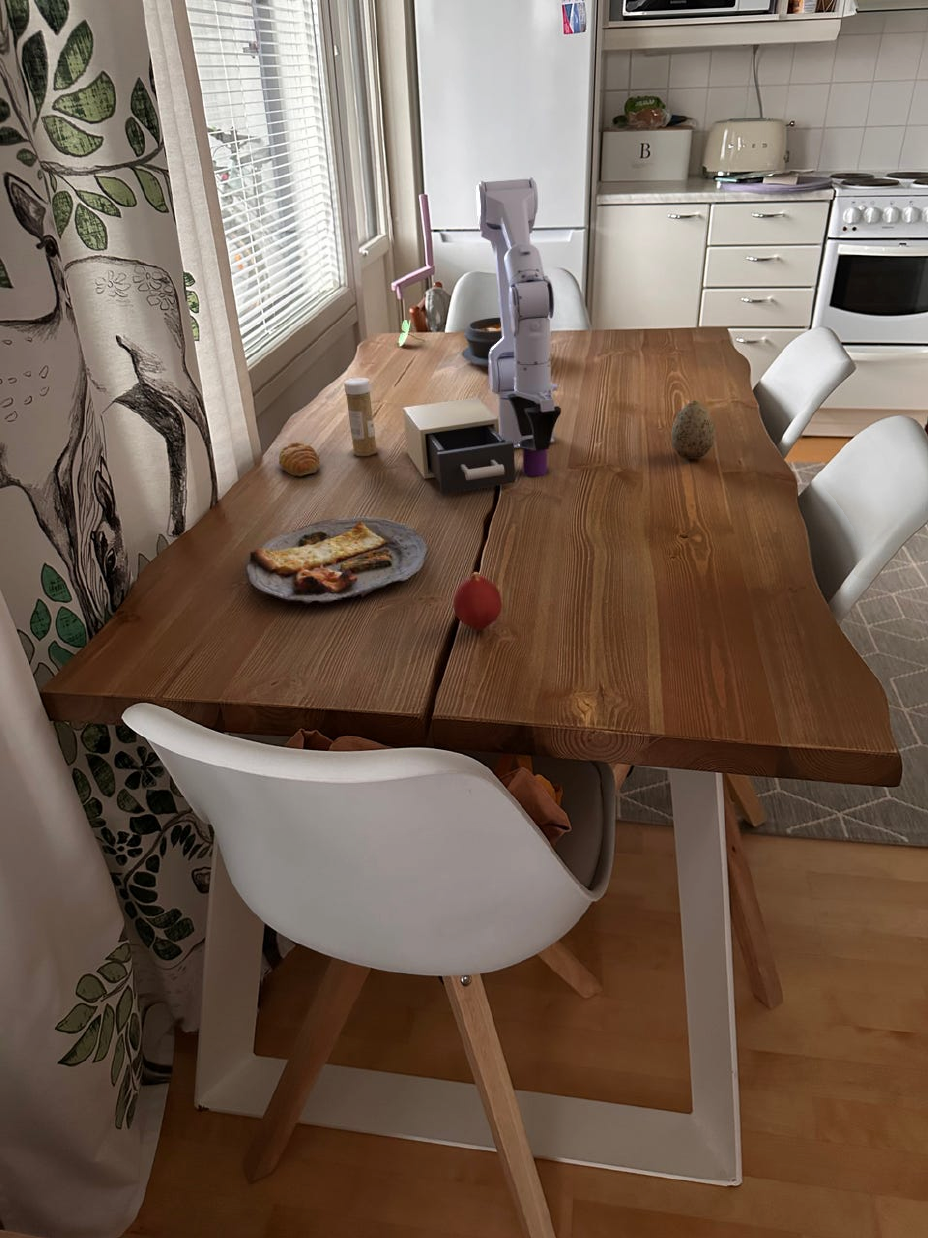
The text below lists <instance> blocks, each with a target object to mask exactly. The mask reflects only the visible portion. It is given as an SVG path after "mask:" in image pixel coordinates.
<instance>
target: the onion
mask: <svg viewBox="0 0 928 1238" xmlns="http://www.w3.org/2000/svg"><path fill="white" fill-rule="evenodd" d="M452 603H453V604H452V605H453V609H454V613H455V616H456V618H457V619H458V620H459V621H460V622H461V623H462V624H464V625H465V626H467V627H469V628H470V629H471V628H472V629H473V631H475V632H482V631H484V630H485V629H486V628H487V627H490V625H491V624H493V623H494V622H495V621H497V619H498V617H499V615H500V614H501V612H502V606H503V603H502V597H501V593H500V590H499V589H498V588H497V586H496V585H495V584H494V583H493V582H491V581H490V580H489V579H488V578H486V577H484V576H482V575H481V574H480V573H479V572H478V571H474V572H473V573H472V574H471V575H470V577H468V578H466V579H465V580H464V581H462V582H461V583H460V585H459V586H458V587H457V589H456V591H455V593H454V595H453V602H452Z"/></svg>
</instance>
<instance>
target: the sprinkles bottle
mask: <svg viewBox="0 0 928 1238" xmlns="http://www.w3.org/2000/svg"><path fill="white" fill-rule="evenodd" d="M343 386H344V387H343V388H344V393H345V395H346V402H347V403H346V404H347V413H348V421H349V429H350V436H351V437H350V438H351V440H352V441H351V442H352V449H353V450H352V453H353V455H355V456H357V457H369V456H372V455H375V454H376V453H377V452H378V447H377V441H376V429H375V424H374V414H373V409H372V399H371V390H372V389H371V381H370V379H368V378H365V377H354V378H350V379H347V380H345V381H344V383H343Z"/></svg>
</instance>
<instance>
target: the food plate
mask: <svg viewBox="0 0 928 1238" xmlns="http://www.w3.org/2000/svg"><path fill="white" fill-rule="evenodd" d="M427 551H428V548H427V544H426V541H425V538H423V536H422V535H421V534H419V533H418V532H417V531H415V529H413V528H412V527H411V526H409V524H405V523H400V522H397V521H393V520H391V519H385V518H379V517H368V516H367V517H365V516H363V517H362V516H361V517H359V516H358V517H353V518H352V517H351V518H336V519H335V518H331V519H325V520H322V521H318V522H314V523H311V524H308V525H304V526H302V527H299V528H296V529H293V530H291V531H288V532H286V533H281V534H280V535H277V536H275V537H274V538H272V539H270V540H269V541H267V542H266V543H264V544H263V545H262V546H261V547H260V548H259V547H258V548H254V550H251V551H250V552H249V560H248V564H247V565H246V567H245V572H246V573H245V574H246V576H247V579H248V582H249V584H250V586H251V587H252V588H253V589H254V590H255V591H257V592H259V593H262V594H264V595H268V596H272V597H275V598H278V599H279V600H281V601H283V602H286V601H287V602H290V603H293V602H294V603H295V602H297V603H298V606H300V605H301V602H302V603H303V604H310V603H312V602H314V601H318V603H320V604H325V603H329V602H333V601H335V600H338V599H339V600H342V599H343V598H353V597H357V596H358V595H360V597H364V596H366V595H367V594H369V593H371V592H373V591H375V590H377V589H380V588H384V587H386V586H387V585H389V584H393V583H395V582H398V581H399V582H403V581H404V582H405V581H406V580H409V578H411V577H412V576H413V575H415V574H416V573H417V572H419V571H420V570H421V568H422V567H423V566H424V563H425V559H426V558H425V556H426V553H427ZM300 601H301V602H300Z"/></svg>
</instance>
